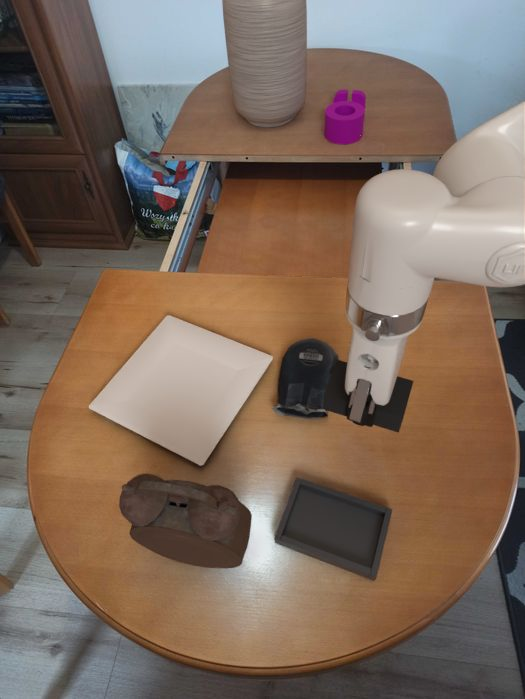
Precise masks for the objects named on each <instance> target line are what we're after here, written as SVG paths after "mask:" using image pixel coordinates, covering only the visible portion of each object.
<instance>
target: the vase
mask: <svg viewBox="0 0 525 699" xmlns="http://www.w3.org/2000/svg"><path fill="white" fill-rule="evenodd" d="M221 2H222V3H221V6H222V19H223V28H224V37H225V38H224V39H225V46H226V47H225V48H226V56H227V64H228V73H229V82H230V89H231V96H232V100H233V105H234V108H235V110H236V111H237V113H238V114H239V115H240V116H241V117H242V118H244V119H245V120H246V121H247V122H248V124H251V125H253V126H256V127H259V128H276V127H281V126H283V125H286V124H288V123H290V122H292V121H293V119H294V118H295V117H296V115H297V114H298V113H300V111H301V109H303V106H304V105H305V102H306V98H307V86H308V85H307V84H308V83H307V80H308V79H307V78H308V77H307V75H308V74H307V73H308V7H307V0H221Z"/></svg>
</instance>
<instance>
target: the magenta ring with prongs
mask: <svg viewBox="0 0 525 699" xmlns="http://www.w3.org/2000/svg"><path fill="white" fill-rule="evenodd" d="M366 101H367V96H366V93H365V92H364V91H363V90H361V89H353V90H352V92H351V101H350V100H349V89H339V90H337V91H336V92H335V93H334V97H333V101H332V103H330V104H329V105H327V106H326V107H325V110H324V131H323V132H324V138H325V140H326V141H328V142H330V143H332V144H335V145H351V144H354V143H357V142H358V141H360V140H361V139H362V137H363V135H364V126H365V125H364V123H365V114H366V103H367V102H366ZM360 135H361V136H360Z"/></svg>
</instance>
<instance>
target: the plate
mask: <svg viewBox="0 0 525 699" xmlns="http://www.w3.org/2000/svg"><path fill="white" fill-rule="evenodd" d="M273 359H274V356H273V355H271V354H268V353H266V352H263V351H260V350H258V349H256V348H253V347H251V346H248V345H245V344H243V343H240V342H238V341H235V340H233V339H230V338H228V337H225V336H223V335H220V334H218V333H215V332H212V331H210V330H208V329H206V328H203V327H200V326H198V325H195V324H192V323H190V322H188V321H185V320H183V319H181V318H178V317H175V316H173V315H170V314H167V315H166V316H165V317H164V318H163V319H162V320H161V321H160V323H159V324H157V326H156V327H155V328H154V329H153V331H152V332H151V333H149V335H148V336H147V338H146V339H145V340H144V341H143V342H142V343H141V345H140V346H138V348H137V349H136V350H135V352H134V353H133V354H132V355H131V356H130V358H129V359H128V360H127V361H126V362H125V363H124V364H123V366H121V367H120V369H119V370H118V371H117V372H116V373H115V375H114V376H112V378H111V379H110V381H109V382H107V384H106V385H105V386H104V387H103V389H102V390H101V391H100V392H99V394H97V396H96V397H94V399H93V400H92V402H90V404H89V405H88V409H89V410H91V411H93V412H95V413H97V414H99V415H101V416H103V417H105V418H106V419H108V420H110V421H112V422H115V423H116V424H118V425H121V426H122V427H124V428H126V429H128V430H130V431H131V432H134V433H135V434H138V435H140V436H142V437H143V438H146V439H148V440H149V441H151V442H153V443H155V444H157V445H159V446H161V447H163V448H165V449H167V450H169V451H171V452H173V453H175V454H177V455H179V456H180V457H183V458H185V459H186V460H188V461H191V462H192V463H194V464H196V465H198V466H204V465H205V463H206V461H207V460H208V458H209V457H210V455H211V454H212V452H213V451H214V449H215V448H216V447H217V445H218V444H219V441H220V440H221V439H222V437H223V436H224V434H225V433H226V431H227V429H228V428H229V427H230V425H231V424H232V422H233V420H234V419H235V418H236V417H237V415H238V414H239V411H240V410H241V408H242V407H243V405H244V403H245V402H246V401H247V399H248V397H249V396H250V395H251V393H252V391H253V390H254V388H255V387H256V385H258V383H259V381H260V379H261V378H262V377H263V375H264V374H265V372H266V370H267V369H268V367H269V366H270V364H271V363H272V362H273Z"/></svg>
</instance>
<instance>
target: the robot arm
mask: <svg viewBox="0 0 525 699" xmlns="http://www.w3.org/2000/svg"><path fill="white" fill-rule="evenodd" d="M353 211H354V213H353V220H352V221H353V222H352V233H351V241H350V242H351V243H350V245H351V246H350V254H349V263H348V264H349V266H348V275H347V283H346V284H347V285H346V293H345V305H344V312H345V317H346V319H347V320H348V322H349V324H350V325H351V326H352V331H351V337H350V341H349V349H348V356H347V361H346V362H347V370H346V378H345V391H346V393H347V394H348V395H349V394H351V398H350V400H349V404H348V411H347V417H346V419H347V420H348V421H350V422H352V423H353V424H354V425H357V426H360V427H364V426H366V427H369V428H372V427H373V426H374V425H373V423H374V419H375V414H376V410H377V407H376V406H375V403H376V404H378V405H383V406H384V405H386V404H387V403H388V402H389V400H390V397H391V394H392V391H393V388H394V385H395V382H396V378H397V376H399V372H400V368H401V365H402V362H403V357H404V354H405V351H406V347H407V341H408V339H409V336H410V335H412V334H413V333H414V332H416V330H418V329H419V327H420V326H421V324H422V323H423V320H424V316H425V313H426V309H427V306H428V302H429V298H430V295H431V291H432V289H433V284H434V281H435V279H441V280H446V281H451V282H457V283H463V284H468V285H469V284H470V285H473V286H480V287H486V288H487V287H488V288H513V287H519V286H524V285H525V100H523V101H521V102H520V103H518V104H516V105H514V106H512V107H510V108H508V109H506V110H505V111H502V112H501V113H499V114H498V115H496V116H494V117H492V118H491V119H489V120H487V121H485V122H483V123H481V124H480V125H479V126H477V127H475V128H473V129H471V130H470V131H469V132H468V133H466V134H465V135H463V136H461V138H459V139H458V140H456V141H455V142H454V143H453V144H452V145H450V147H449V148H448V149H447V150H446V151H445V152H444V153H443V154H442V155H441V157H440V159H439V160H438V162H437V164H436V166H435V168H434V170H433V173H432V174H430V173H427V172H424V171H421V170H417V169H411V168H410V169H409V168H408V169H407V168H398V169H392V170H387V171H384V172H381V173H379V174H376V175H374V176H373V177H371V178H369V179H368V180H367V181H366V182H365V183H364V184H363V186H362V187H361V188H360V190H359V192H358V194H357V196H356V200H355V205H354V210H353ZM368 397H372V398H371V402H369V401H367V398H368Z"/></svg>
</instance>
